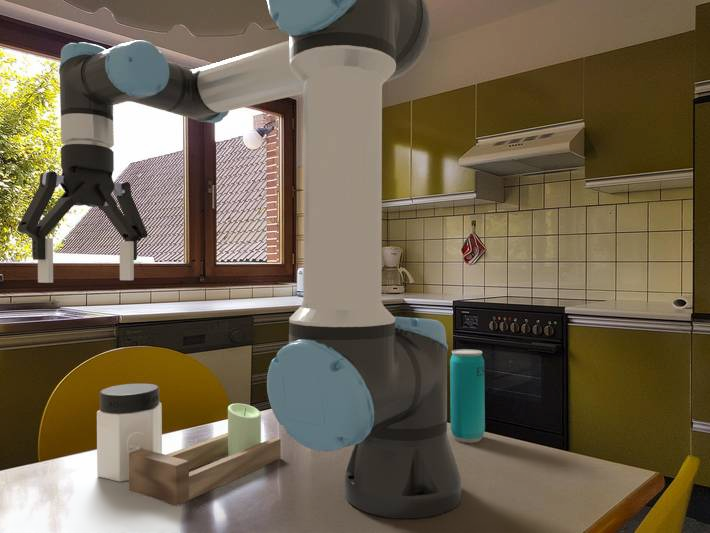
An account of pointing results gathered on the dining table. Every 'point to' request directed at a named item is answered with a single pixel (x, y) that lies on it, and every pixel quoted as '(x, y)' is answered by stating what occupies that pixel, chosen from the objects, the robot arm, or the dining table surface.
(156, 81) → the robot arm
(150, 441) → the jar
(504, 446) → the dining table surface
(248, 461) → the channel
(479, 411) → the beverage can
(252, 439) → the candle
